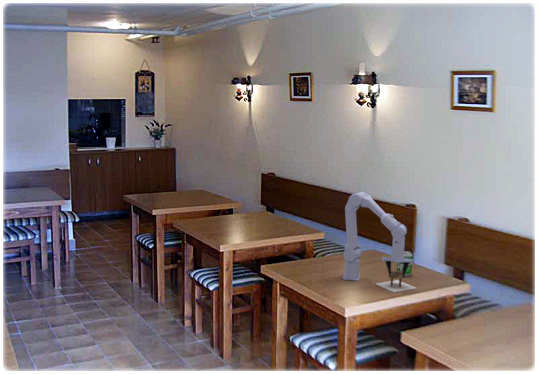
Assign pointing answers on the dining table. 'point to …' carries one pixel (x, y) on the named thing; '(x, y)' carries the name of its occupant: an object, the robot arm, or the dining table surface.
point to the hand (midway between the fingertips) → (396, 277)
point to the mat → (395, 286)
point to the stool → (396, 276)
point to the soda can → (409, 269)
